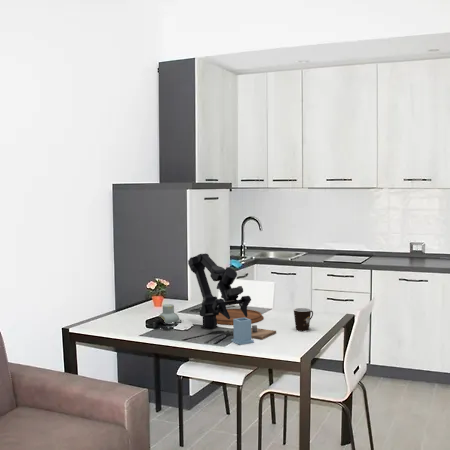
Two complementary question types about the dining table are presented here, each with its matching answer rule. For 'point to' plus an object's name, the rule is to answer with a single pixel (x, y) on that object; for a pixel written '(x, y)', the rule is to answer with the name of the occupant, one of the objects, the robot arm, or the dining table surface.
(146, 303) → the dining table surface
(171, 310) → the air freshener
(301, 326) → the coffee mug
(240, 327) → the light blue square holder
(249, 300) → the robot arm
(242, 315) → the cutting board
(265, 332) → the locating plate
